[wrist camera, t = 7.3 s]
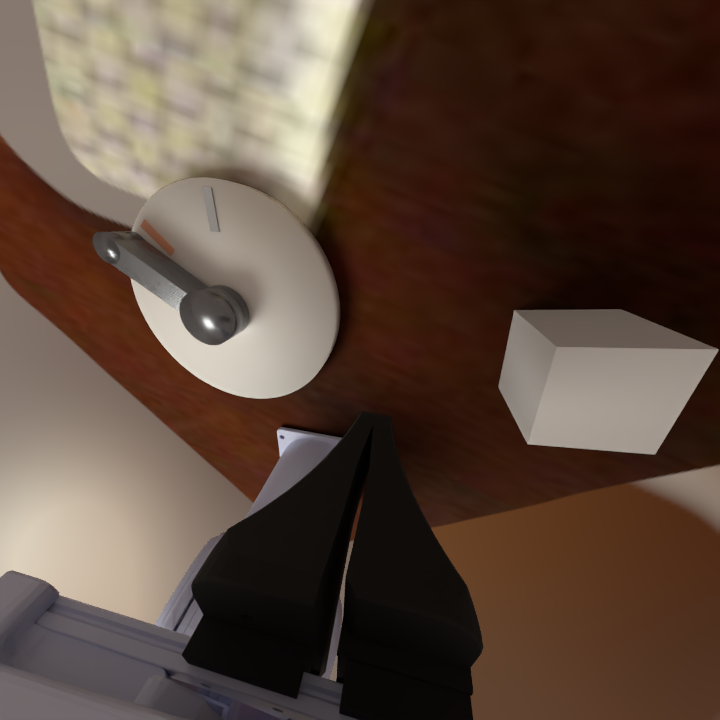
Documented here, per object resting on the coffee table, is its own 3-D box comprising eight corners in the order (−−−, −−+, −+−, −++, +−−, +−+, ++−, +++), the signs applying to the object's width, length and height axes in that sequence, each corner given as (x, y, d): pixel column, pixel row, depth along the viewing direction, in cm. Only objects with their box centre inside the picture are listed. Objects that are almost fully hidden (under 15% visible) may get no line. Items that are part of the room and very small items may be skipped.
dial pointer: (257, 307, 18) (238, 316, 16) (238, 342, 20) (219, 355, 18) (130, 212, 17) (94, 211, 15) (121, 259, 19) (88, 263, 17)
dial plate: (338, 401, 23) (333, 412, 22) (178, 375, 25) (165, 384, 24) (343, 186, 16) (336, 182, 14) (115, 176, 18) (90, 172, 16)
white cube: (513, 309, 17) (556, 346, 12) (620, 308, 16) (719, 348, 11) (497, 387, 20) (527, 444, 15) (588, 390, 19) (655, 455, 13)
